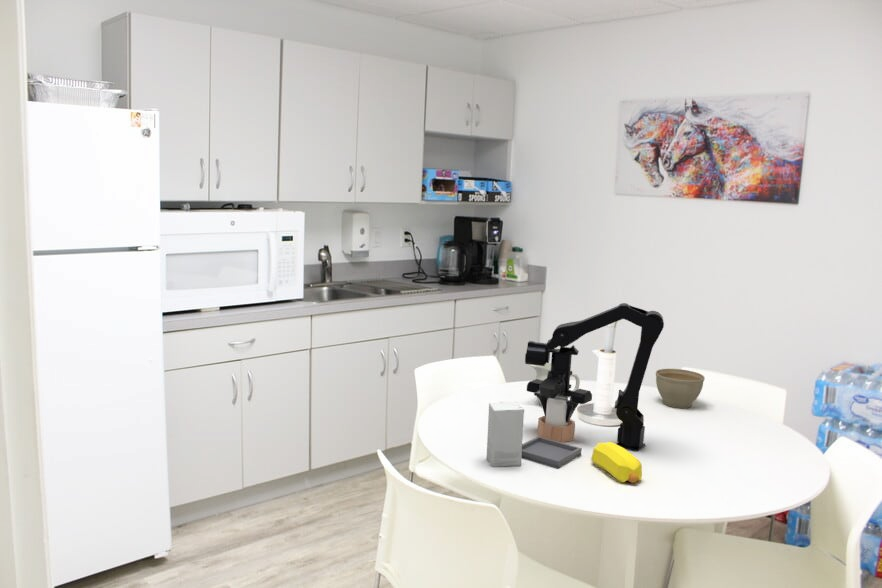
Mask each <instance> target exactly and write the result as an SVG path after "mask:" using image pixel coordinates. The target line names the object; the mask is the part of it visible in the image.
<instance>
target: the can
mask: <svg viewBox="0 0 882 588" xmlns="http://www.w3.org/2000/svg"><path fill="white" fill-rule="evenodd" d="M568 400H569V397H567V396H564V395H559V394H557V396H556V397H555V398H548V400H547V408H546V421H545V424H548V425H552V426H568V422H566V411H567V404H566V401H568Z"/></svg>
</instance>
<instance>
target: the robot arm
mask: <svg viewBox="0 0 882 588" xmlns="http://www.w3.org/2000/svg"><path fill="white" fill-rule="evenodd" d="M621 320H626V321H627V322H630V323H632V324H634V325H636V326H638V327H640V339H639V340H640V341H639V344H638V348H637V350H636V355H635V357H634V361H633V364H632V367H631V370H630V374H629V378H628V381H627V385H626V387H625V388H624V390H621V389H619V390H618V395H617V399H616V400H614V401H615V402H614V409H616V410H615V414H616V418H617V419H619V420H620V421H621V423H620V424H619V427H618V428H617V435H616V436H617V437H616V441H617V442H616V443H615V444H617V445H619V446H621V447H623V448H624V449H626V450H627V449H628V450H632V451H636V452H637V451H639V450H641V449H642V448H645V447H646V443H644V441H645V440H644V439H645V431H646V427H645V425H644V423H645V420H644V419H645V418H644V414H643V413H642V412H641V410H639V408H638V407H639V397H640V391H641V388H642V387H641V386H642V385H643V384H642V383H643V382H644V381H643V380H644V377H645V374H646V370H647V368H648V364H649V361H650V357H651V355H652V354H651V353H652V351H653V348H654V345H656V343H657V341H658V339H659V337H660V336H661V333H662V331H663V330H664V327H665V323H664V322H665V321H664V317H663V315H662V314H661V313H660V312H658V311H656V310H650V311H648V310H646V309H642V308H640V307H637V306H636V307H635V306H633V305H630V304H629V303H626V302H625V303H624V302H623V303H620V304H619V305H616V306H614V307H612V308H610V309H606V310H605V311H602V312H599V313H597V314H594V315H592V316H590V317H587V318H585V319H581V320H578V321H569V322H567V323H561V324H559V325H557V326H556V328H555V329H554V330H553V333H552V336H551V338H550V339H548V340H547V342H546V343H545V342H536V341H533V340H529V341H528V342H527V347H526V353H525V354H524V355H525V357H524V358H525V359H524V364H525V365H539V366H545V364H546V363H551V371H548V376H547V379H545V380H544V381H543V380H539V379H536V378H535V379H533V380H530V381H529V382H528V383H527V384H526V391H527V392H528V393H529V392H530V393H533V396H536V398H537V397H538V398H539V399H540V401H541V404H542V405H541V408H542V409H543V410H542V411H543V414H544V415H543V416H545V417H546V408H547V400H548V398H555V397H556V396H557V394H559V395H564V396H568V398H569V399H568V401H566V404H567V411H566V422H569V420H570V419H572V416H573V414H574V412H575V411H576V409H577V407H578V405H579V404H580V405H585V404H587V403H589V402H591V401H592V400H593V394H592V393H591V390H587V389H582V388H579V389H578V390H575V391H573V390H571V388H572V384H570V383H571V382H570V381H571V379H570V378H571V377H570V375H572V373H573V371H572V370H571V369H572V356H578V355H579V352H580V351H579V350H578V349H577V348H576V347H575V345H574V344H573V343H574V342H576V341H578V340H579V339H580V338H582V337H583V336H585V335H586V334H589V333H591V332H594V331H596V330H599V329H601V328H603V327H606V326H609V325H612V324H613V323H616V322H619V321H621ZM571 344H573V345H571ZM569 345H571V347H567V346H569ZM558 347H559V348H558ZM550 358H551V359H550ZM550 361H551V362H550ZM564 392H565V393H564Z"/></svg>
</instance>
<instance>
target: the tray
mask: <svg viewBox="0 0 882 588" xmlns="http://www.w3.org/2000/svg"><path fill="white" fill-rule="evenodd" d="M580 456H582V447H578V446H574V445H572V444H568V443H565V442H557V441H554V440H550V439H546V438H543V437H539V436H536V437H534V438H532V439H530V440H528V441H527V440H526V442H524V443H523V442H522V458H521V459H524V460H528V461H530V462H533V463H537V464H540V465H544V466H548V467H550V468H553V469H560V468H561V467H563V466H565V465H566V464H567V465H568V463H570V462H572V461H574V460H575V459H577V458H579V457H580Z"/></svg>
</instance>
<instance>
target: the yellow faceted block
mask: <svg viewBox="0 0 882 588" xmlns="http://www.w3.org/2000/svg"><path fill="white" fill-rule="evenodd" d="M590 461H592V462H593V463H594V465H595V466H597V467H598V468H600V469H602V470H604V471H606V472H607V473H609V474H610V475H611V476H612V477H613V478H614V479H616V480H617V481H618V482H620V483H625V482H626V481H628V482H629V483H631V484H632V483H633V484H635V483H637V482H640V481H641V479H642V476H643V470H642V469H643V467H642V466H643V465H642V463H641V461H640V460H639V459H638V458H637V457H636V456H634V455H633V453H631V452H630V451H628V450H627V449H626V448H624V447H621V446H619V445H617V444H616V443H614V442H612V441H609V442H608V441H607V442H599V443H597V445H596V446H595V447H594V448H593V451H592V453H591V459H590Z"/></svg>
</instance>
